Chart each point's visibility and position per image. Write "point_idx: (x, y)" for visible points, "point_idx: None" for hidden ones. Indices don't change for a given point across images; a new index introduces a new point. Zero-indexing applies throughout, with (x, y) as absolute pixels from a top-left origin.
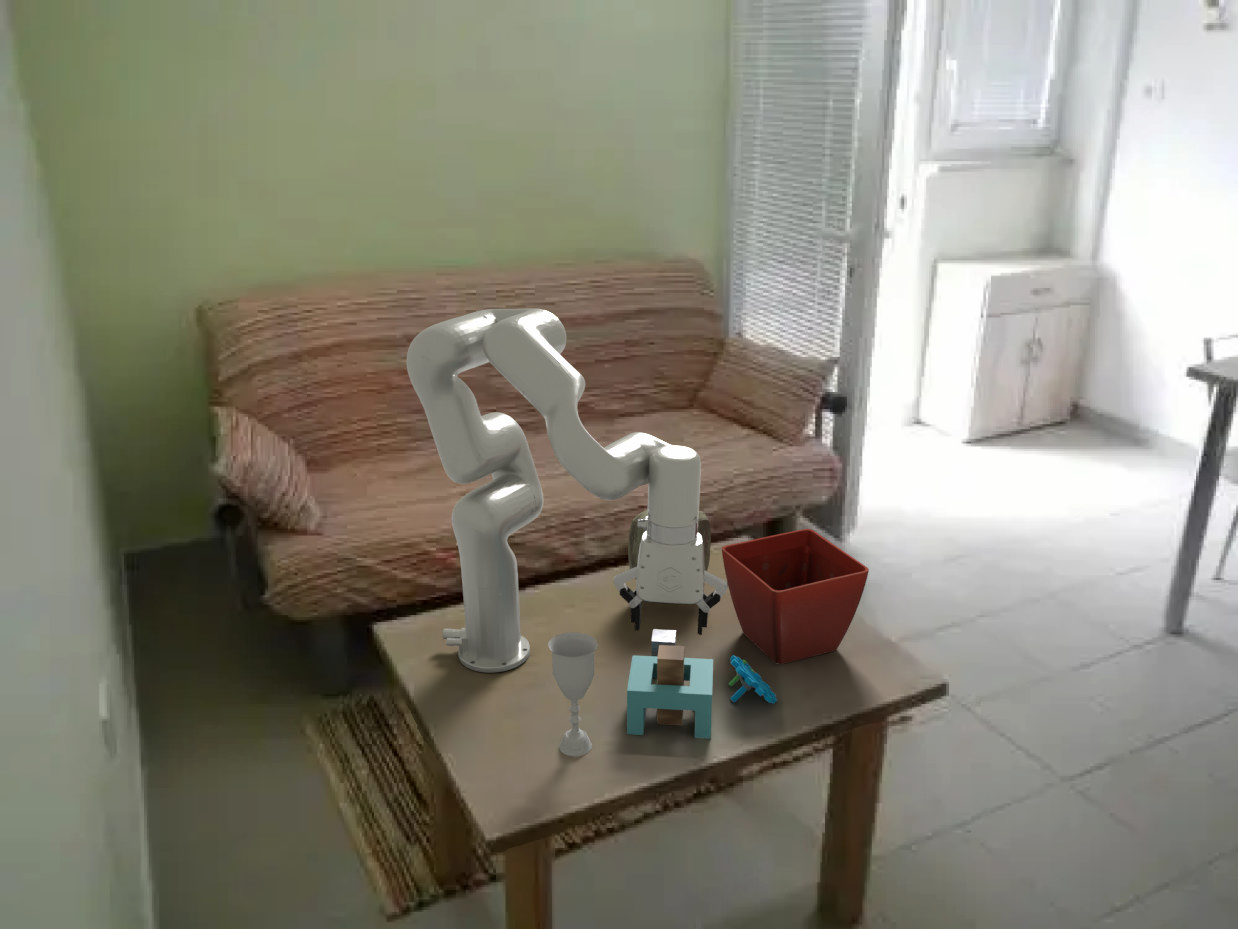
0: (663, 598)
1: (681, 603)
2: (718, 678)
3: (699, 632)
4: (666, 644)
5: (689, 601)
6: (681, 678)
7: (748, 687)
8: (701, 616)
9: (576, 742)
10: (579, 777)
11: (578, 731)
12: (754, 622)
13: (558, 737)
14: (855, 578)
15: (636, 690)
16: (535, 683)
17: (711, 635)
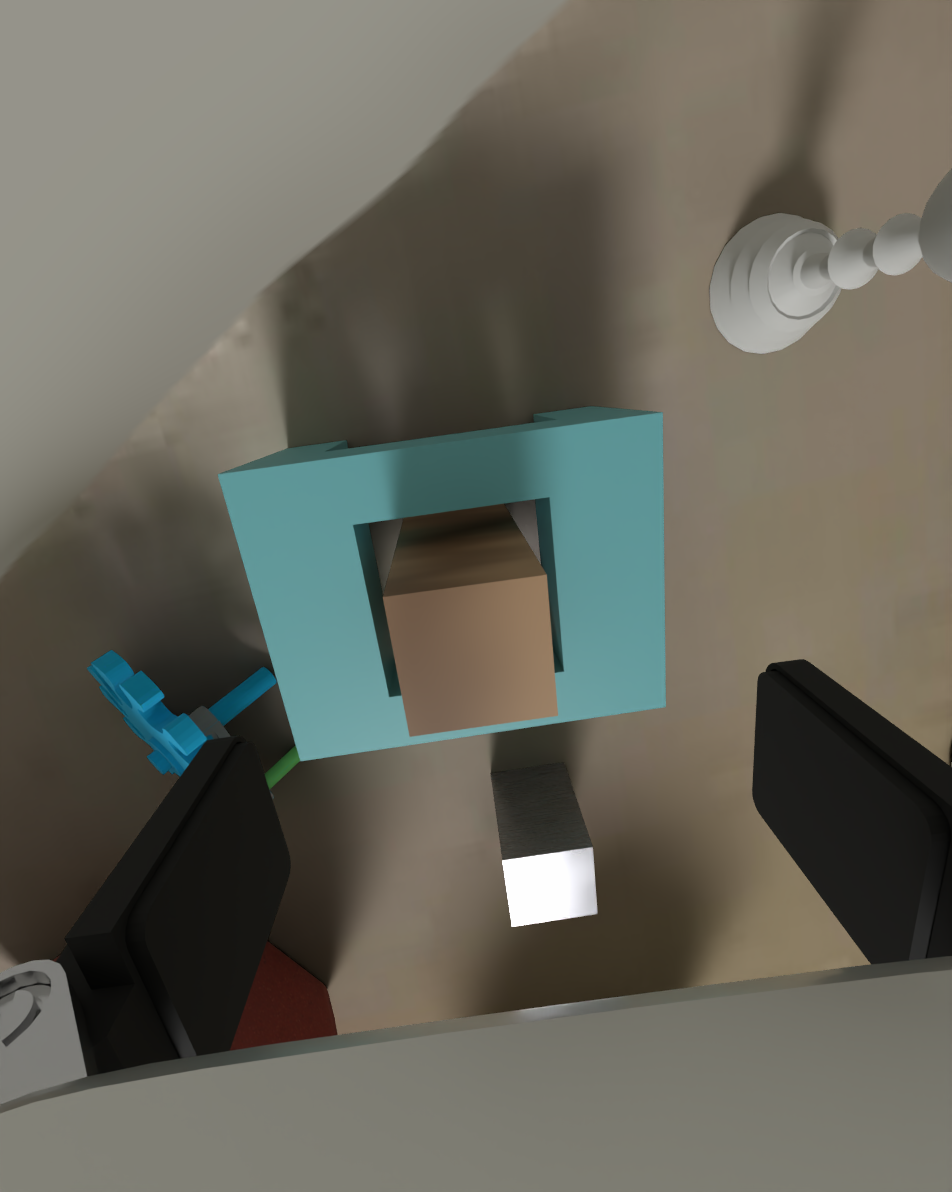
0: (753, 1109)
1: (304, 1042)
2: (347, 776)
3: (221, 747)
4: (533, 847)
5: (55, 1148)
6: (400, 559)
7: (195, 712)
8: (112, 890)
9: (792, 225)
10: (739, 66)
11: (803, 263)
12: (242, 1027)
13: (836, 329)
14: None
15: (614, 423)
16: (926, 620)
17: (416, 957)
